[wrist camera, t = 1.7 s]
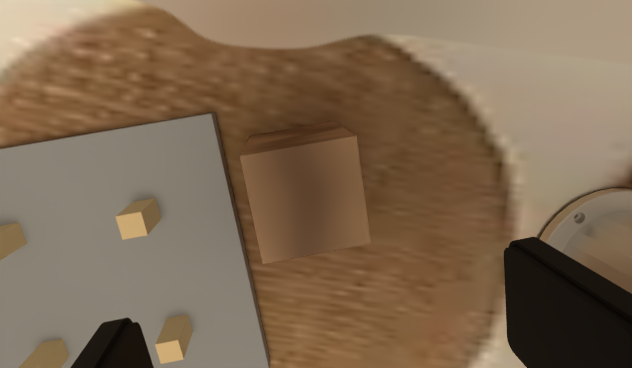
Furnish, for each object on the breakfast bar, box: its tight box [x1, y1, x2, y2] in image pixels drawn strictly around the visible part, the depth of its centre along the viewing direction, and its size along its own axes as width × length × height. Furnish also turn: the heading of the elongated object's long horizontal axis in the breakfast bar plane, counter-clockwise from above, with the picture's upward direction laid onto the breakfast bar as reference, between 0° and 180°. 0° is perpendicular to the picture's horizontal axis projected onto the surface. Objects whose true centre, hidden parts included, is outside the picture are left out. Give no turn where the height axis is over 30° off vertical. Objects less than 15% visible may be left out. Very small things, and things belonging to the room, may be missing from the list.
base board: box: [0, 112, 270, 368], centre depth 27 cm, size 20×20×4 cm
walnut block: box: [240, 121, 371, 264], centre depth 25 cm, size 6×6×8 cm
